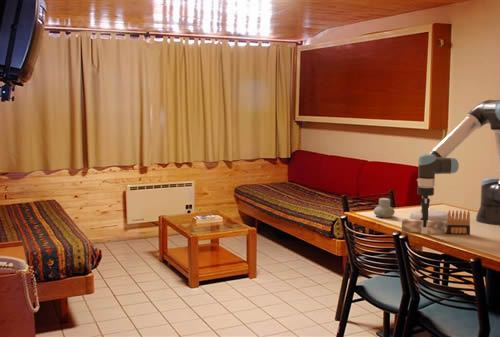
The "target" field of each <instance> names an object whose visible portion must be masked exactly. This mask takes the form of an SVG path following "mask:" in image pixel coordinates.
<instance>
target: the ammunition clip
mask: <svg viewBox="0 0 500 337" xmlns="http://www.w3.org/2000/svg"><path fill="white" fill-rule="evenodd" d="M447 212H448V218H447V226H446V235H460V236H462V235H463V236H467V235H468V236H470V235H471V217H470V216H471V213H470V210H468V211H467V212H466V210H463V212H462V210H460V211H458V210H456V212H455V211H454V210H452V213H451V210H448V211H447ZM466 213H467V214H466Z"/></svg>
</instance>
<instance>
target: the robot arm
mask: <svg viewBox="0 0 500 337" xmlns="http://www.w3.org/2000/svg"><path fill="white" fill-rule="evenodd" d="M486 124H489V126H490V130H491V131H492V132H494V137H495V138H494V139H495V145H496V153H497V160H498V170H500V99H487V100H484V101H482V102H480V103H478V104H477V105H475V106H474V107H473V108H471V110H470V111H469V112H468V113H466V114H465V115H464V119H463V120H462V121H461V122H460V123H459V124H458V125H457V126H455V128H454V129H453V130H451V132H449V133H448V134H447V135H446V136H445V137H444V138H443V139H442V140H441V141H440V142H439V143H438V144H437V145H436V146H435V147H434V148H433V149H432V150H430V152H428V153H422V154H419V157H418V169H417V170H418V171H417V172H418V174H417V175H418V176H417V177H418V178H417V179H416V181H417V189H416V190H417V193H416V194H417V195H418V196H421V198H420V205H421V209H420V210H421V213H422V214H421V220H422V228H421V232H420V233H421V234H422V235H428V233H427V231H428V210H429V209H430V202H431V200H430V199H431V198H429V197H432V196H434V194H435V180H436V179H435V177H436V175H442V174H445V175H451V174H455V173H457V172H458V171H459V166H460V164H459V160H457V159H456V158H455V157H448V156H450V155H451V154H452V153H453V152H454V151H455V150H456V149H457V148H458V147H459V146H460V145H461V144H462V143H463V142H464V141H465V140H467V138H468V137H470V135H471V134H472V133H474V132H475V131H476V130H478V129H481V128H483V126H484V125H486ZM480 187H481V189H480V206H479V208H478V210H477V214H476V216H475V217H476V218H475V221H476V222H478V223H482V224H488V225H500V177H499V178H498V177H496V178H495V177H492V178H491V177H490V178H483V179H482V181H481V186H480Z"/></svg>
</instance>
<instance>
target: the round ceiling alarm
mask: <svg viewBox="0 0 500 337" xmlns="http://www.w3.org/2000/svg"><path fill="white" fill-rule="evenodd" d="M421 210H422V209H419V210H414V211H412V212H410V214H409V219H419V220H421V214H422V213H421ZM448 212H449V211H446V210H442V209H437V208H429V209H428V220H435V221H446V227H447V218H448Z"/></svg>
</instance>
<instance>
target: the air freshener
mask: <svg viewBox="0 0 500 337" xmlns="http://www.w3.org/2000/svg"><path fill="white" fill-rule="evenodd" d="M373 214H374V215H375V216H376V217H378V218H381V217H382V218H381V219H383V218H385V219H389V218H391V217H393V216H394V215H395V209H394V208H393V207H391V199H390V198H386V197H382V198H381V197H380V198H379V199H378V206H376V207H375V208H374V209H373Z"/></svg>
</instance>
